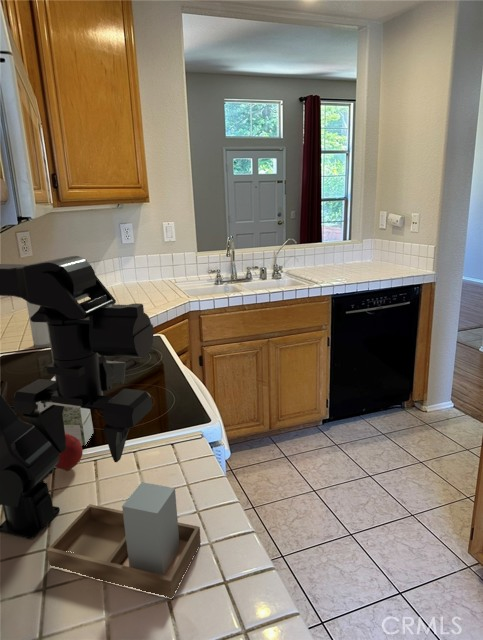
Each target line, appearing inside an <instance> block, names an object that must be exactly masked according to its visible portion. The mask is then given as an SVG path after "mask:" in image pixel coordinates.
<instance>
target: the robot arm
mask: <svg viewBox="0 0 483 640" xmlns="http://www.w3.org/2000/svg"><path fill="white" fill-rule="evenodd" d="M1 296H2V297H14V298H15V297H16V298H20V299H23V300H25V301H26V303H27V302H29V303H30V304H34V305H39V306H40V308H39V309H38V311H37V312H36V313H35V314H34V315H33V316H31V318H30V319H29V321H30V320H31V321H32V322H44V323H47V327H48V334H49V340H50V346H49V347H50V351H51V352H50V353H51V358H52V362H51V363H50V364H48V365H46V373H47V374H48V375H54V376H55V379H56V381H53V380H51V379H44V378H38V379H36V380H35V381H32V382H31V383H29V384H27V385H25V386H24V387H22V388H20V389H18V390H16V392H15V393H14V395H13V398H12V406H13V409H12V407H11V406H10V404H8V403H9V402H8V401H6V399H5V398H4V396H3V395H2V394H1V393H0V506H2V510H3V515H4V518H5V520H4V521H3V522H2V523H1V524H0V532H1V533H3V532H4V533H5V534H7V535H11V536H16V537H20V536H21V537H20V538H24V537H25V538H24V539H28V538H31V539H33V538H35V537H36V536H37V535H38V533H40V532H41V531H42V530H43V528H45V527H46V525H48V524H49V522H50V521H52V520H53V518H55V517H56V515H58V514H59V513H60V512H61V511H60V510H61V509H60V507H59V506H54V505H53V500H52V495H51V493H49V492H50V491H49V486H48V483H47V482H45V480H46V479H47V478H48V477H49V476H50V475H52V474H53V473H54V472H55V468H56V467H55V466H56V465H57V464H58V462H59V456H60V455H59V454H60V453H62V452H63V451H65V450H66V437H65V429H64V422H63V410H64V406H67V407H74V408H86V409H90V410H94V411H102V418H103V420H104V422H105V423H106V424H105V425H104V426H102V429H103V432H104V436H105V440H106V442H107V445H108V449H109V452H110V454H111V457H112V460H113V463H118V462H119V461H120V460H121V459H122V455H123V452H124V449H125V445H126V442H127V441H126V440H127V437H128V434H129V431H130V429H131V428H133V427H135V426H136V425H137V424H138V423H139V422H140V421H141V420H142V419H143V418H144V417H145V416H146V415H147V414H148V413H150V411H152V410H153V401H152V396H151V394H150V393H149V392H148V391H146V390H141V389H130V388H123V389H121V390H120V391H119V392H117V394H115V395H114V396H108V395H104V392H107V391H108V392H109V391H110V390H111V389H112V388H113V384H116V383H119V384H125V375H126V365H127V363H126V362H124V361H113V360H107V357H119V358H134V359H135V358H137V359H138V358H139V359H140V358H141V359H144V358H146V357H147V356H148V355H149V354H150V352H151V349H152V347H153V343H154V335H155V334H154V324H152V321H151V318H150V317H149V314H147V313H146V312H145V309H144V308H145V307H144V304H143V303H130V304H117V301H116V299H115V297H114V296H113V295H112V293H110V291H109V290H108V289H107V287H106V286H105V285H104V284H103V283H102V281H101V280H100V279H99V278H98V276H97V275H96V271H95V270H94V268H93V267H92V265H91V264H90V263H89V261H87V259H86V258H84V257H82V256H78V255H73V256H67V257H60V258H55V259H49V260H45V261H44V260H43V261H40V262H34V263H29V264H21V263H20V264H18V263H17V264H16V263H15V264H13V263H12V264H11V263H0V297H1ZM86 298H89V299H87V300H84V301H81V300H83V299H86ZM79 301H81V302H79ZM17 413H18V414H22V417H23V419H26V420H28V421H29V422H30V423H28V422H26V421H23V420H21V419H20V417H19V416H18V415H17ZM32 537H33V538H32Z"/></svg>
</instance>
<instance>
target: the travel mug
mask: <svg viewBox="0 0 483 640" xmlns="http://www.w3.org/2000/svg"><path fill="white" fill-rule="evenodd" d="M26 307H27V313H28V318H29V324H30V331H31V336H32V341H33V342H32V343H33V347H34V348H36V349H37V348H38V349H39V348H41V349H44V348H49V347H50V340H49V334H48V327H47V323H44V322H32V321H31V320H30V318H31V316H33V315H34V314H35V313H36V312H37V311H38V309H39V308H40V306H39V305H34V304H30V303H29V302H27V301H26Z"/></svg>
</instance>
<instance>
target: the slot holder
mask: <svg viewBox="0 0 483 640" xmlns="http://www.w3.org/2000/svg"><path fill="white" fill-rule="evenodd" d="M200 527H201V526H199V525H198V526H197V525H193V524H190V523H189V524H187V523H183V522H179V521H178V532H179V544H180V550H179V551H178V553H177V555H176V557H175V559H174V560H173V562H172V564H171V566H170V568H169V569H168V571H167V573H166V575H165V576H163V575H159V574H155V573H151V572H147V571H143V570H139V569H135V568H131V567H129V559H128V551H127V543H126V534H125V526H124V518H123V510H121V509H114V508H110V507H105V506H101V505H96V504H93V503H92V504H90V503H89V504H88V505H87V506H86V508H84V510H83V511H82V512H81V513H80V514H79V515H78V516H77V517H76V518H75V519H74V520H73V521H72V522H71V524H70V525H69V526H67V528H66V529H65V530H64V531H63V532H62V533H61V534H60V535H59V537H58V538H56V540H55V541H54V542H53V543H51V545H50V546H49V547H48V548H47V549H46V552H47V558H48V565H49V566H50V565H51V566H55V567H59V568H63V569H67V570H70V571H72V572H76V573H80V574H82V575H86V576H89V577H93V578H95V579H100V580H103V581H107V582H111V583H115V584H119V585H122V586H124V585H125V586H128V587H133V588H136V589H140V590H142V591H146V592H151V593H155V594H159V595H164V596H165V597H166V596H167V597H169V598H172V597H173V596H174V594H175V591H176V590H177V588H178V586H179V583H180V582H181V580H182V577H183V575H184V574H185V572H186V570H187V568H188V566H189V564H190V562H191V561H192V558H193V556H194V555H195V553H196V551H197V549H198V547H199V545H200V543H201V542H202V541H201V540H202V539H201V528H200ZM201 544H202V543H201ZM200 546H201V545H200ZM199 548H200V547H199ZM198 550H199V549H198ZM66 551H67V552H66ZM68 551H69V552H68ZM70 551H71V552H72V553H71V552H70ZM73 552H74V553H73ZM197 552H198V551H197ZM196 554H197V553H196ZM195 556H196V555H195ZM192 562H193V561H192ZM188 569H189V568H188ZM187 571H188V570H187ZM186 573H187V572H186ZM185 575H186V574H185ZM182 581H183V580H182ZM181 583H182V582H181ZM179 587H180V586H179ZM178 589H179V588H178ZM177 591H178V590H177ZM175 595H176V594H175ZM174 597H175V596H174Z"/></svg>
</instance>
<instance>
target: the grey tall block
mask: <svg viewBox="0 0 483 640" xmlns="http://www.w3.org/2000/svg"><path fill="white" fill-rule="evenodd" d="M121 508H122V511H123V518H124V526H125V534H126V543H127V551H128V559H129V567H131V568H135V569H139V570H143V571H147V572H151V573H155V574H159V575H163V576H165V575H166V573H167V571H168V569H169V568H170V566H171V564H172V562H173V560H174V559H175V557H176V555H177V553H178V551H179V550H180V544H179V532H178V522H179V520H178V509H177V498H176V488H175V487H171V486H166V485H165V486H164V485H159V484H154V483H149V482H145V481H142V482H141V483H140V484H138V487H137V488H136V489H135V490H134V491H133V492H132V493H131V494H130V495H129V497H128V498H127V499H126V501H125V502H124V503H123V504H122V505H121Z"/></svg>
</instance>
